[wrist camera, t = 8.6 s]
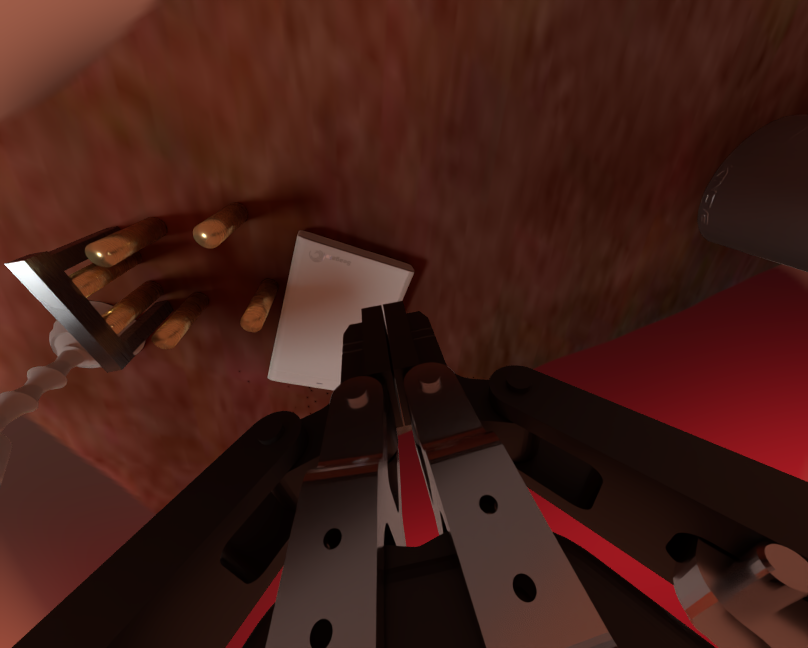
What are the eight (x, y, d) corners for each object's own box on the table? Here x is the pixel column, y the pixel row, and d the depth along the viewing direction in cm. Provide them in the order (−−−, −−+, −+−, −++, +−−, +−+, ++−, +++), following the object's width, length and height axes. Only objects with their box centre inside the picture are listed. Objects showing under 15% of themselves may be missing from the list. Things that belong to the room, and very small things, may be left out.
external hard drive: (296, 236, 18) (266, 380, 24) (416, 273, 21) (363, 395, 27) (299, 228, 20) (270, 366, 26) (411, 264, 23) (362, 382, 28)
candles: (243, 201, 18) (203, 228, 13) (280, 292, 22) (260, 341, 17) (98, 226, 18) (-1, 265, 13) (161, 315, 22) (103, 373, 16)
